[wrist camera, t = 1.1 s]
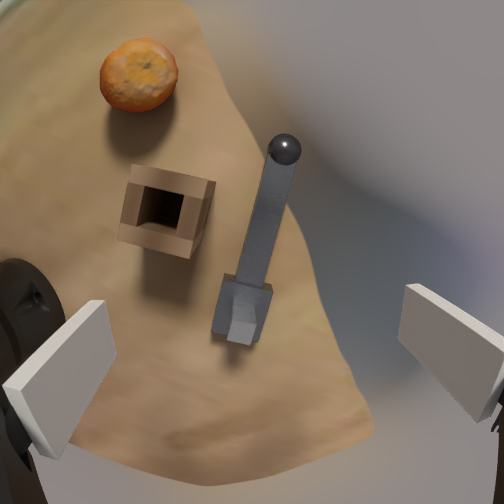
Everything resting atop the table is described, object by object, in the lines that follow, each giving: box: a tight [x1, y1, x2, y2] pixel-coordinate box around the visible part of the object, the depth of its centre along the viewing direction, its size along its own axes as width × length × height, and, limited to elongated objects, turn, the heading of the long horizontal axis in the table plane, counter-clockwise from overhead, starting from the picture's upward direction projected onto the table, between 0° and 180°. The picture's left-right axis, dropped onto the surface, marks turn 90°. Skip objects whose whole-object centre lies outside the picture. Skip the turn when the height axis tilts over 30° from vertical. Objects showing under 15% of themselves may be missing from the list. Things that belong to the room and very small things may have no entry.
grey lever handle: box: [211, 134, 301, 345], centre depth 29 cm, size 5×22×7 cm, turn 165°
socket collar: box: [117, 164, 216, 259], centre depth 27 cm, size 6×6×8 cm
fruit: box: [100, 38, 178, 113], centre depth 25 cm, size 8×8×8 cm
